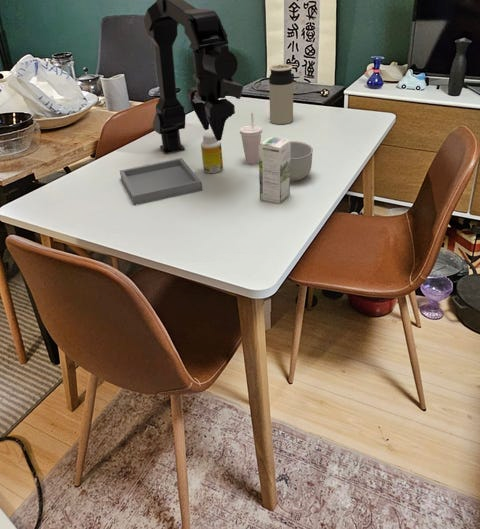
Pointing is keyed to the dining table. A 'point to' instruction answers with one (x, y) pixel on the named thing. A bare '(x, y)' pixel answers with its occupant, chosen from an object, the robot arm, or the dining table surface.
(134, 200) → the tray
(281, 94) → the travel mug
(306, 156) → the teacup
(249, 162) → the smoothie
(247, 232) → the dining table surface
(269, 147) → the syrup box
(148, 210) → the dining table surface
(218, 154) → the supplement bottle
